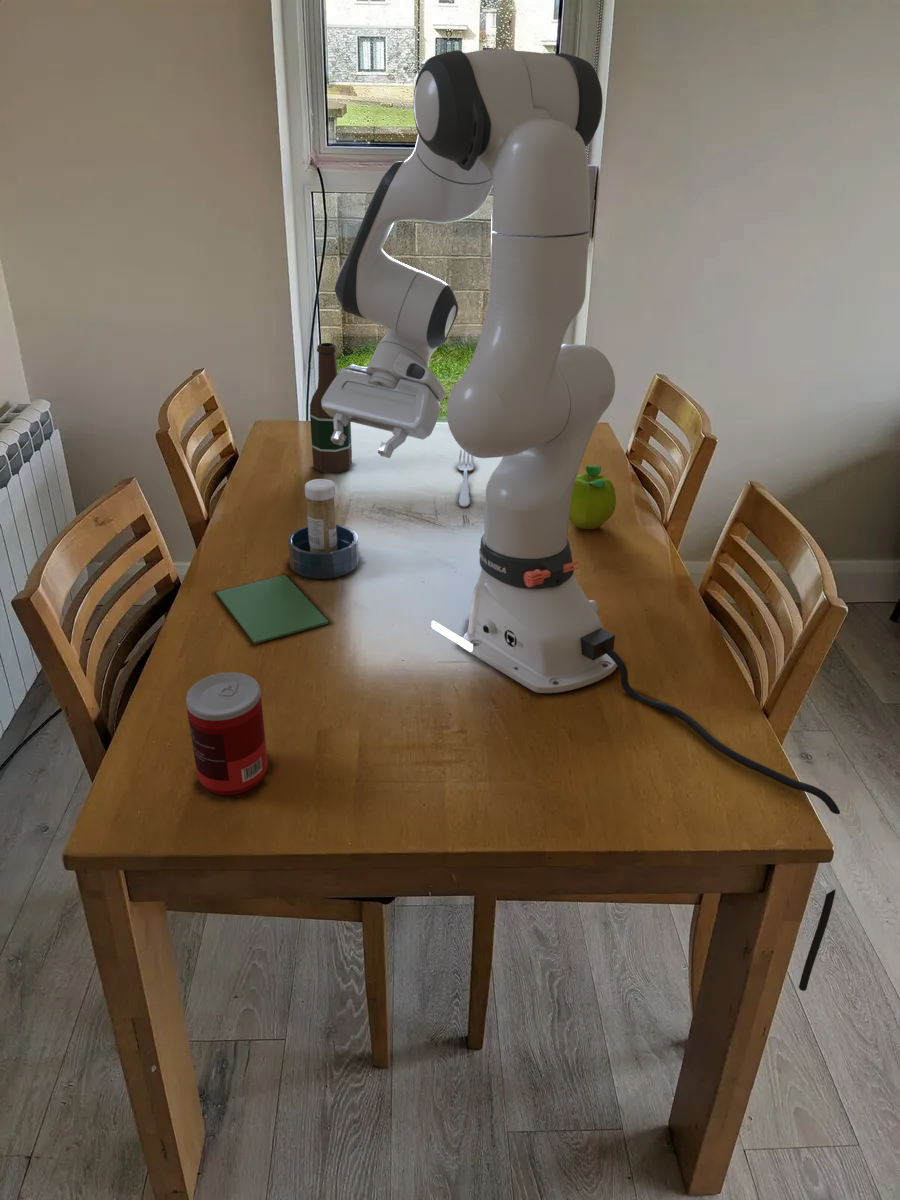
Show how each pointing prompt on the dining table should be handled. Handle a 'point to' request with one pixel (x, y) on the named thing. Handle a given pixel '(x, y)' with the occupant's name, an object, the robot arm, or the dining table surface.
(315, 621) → the green mat
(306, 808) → the dining table surface
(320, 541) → the sprinkles bottle
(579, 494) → the fruit
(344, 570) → the dark blue bowl
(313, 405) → the beer bottle
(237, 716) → the canned food
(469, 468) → the fork
